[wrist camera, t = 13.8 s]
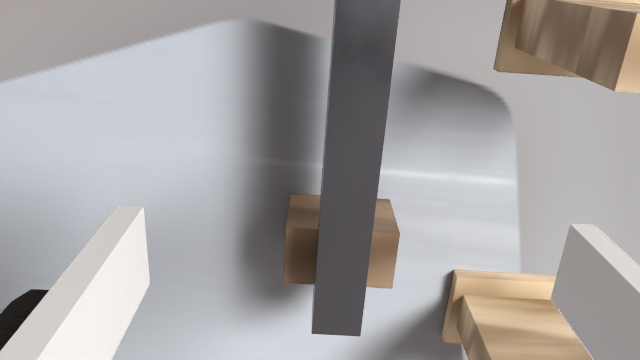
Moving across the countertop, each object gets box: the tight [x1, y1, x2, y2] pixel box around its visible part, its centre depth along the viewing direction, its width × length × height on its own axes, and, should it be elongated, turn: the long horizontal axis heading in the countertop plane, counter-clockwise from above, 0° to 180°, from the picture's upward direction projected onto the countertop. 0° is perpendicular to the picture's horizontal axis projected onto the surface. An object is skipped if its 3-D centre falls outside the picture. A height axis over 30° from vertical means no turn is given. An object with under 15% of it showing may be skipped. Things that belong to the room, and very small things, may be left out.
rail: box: [312, 0, 400, 336], centre depth 28 cm, size 28×3×2 cm, turn 176°
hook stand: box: [442, 0, 640, 360], centre depth 30 cm, size 27×8×12 cm, turn 176°
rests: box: [284, 194, 400, 288], centre depth 31 cm, size 24×7×5 cm, turn 176°
